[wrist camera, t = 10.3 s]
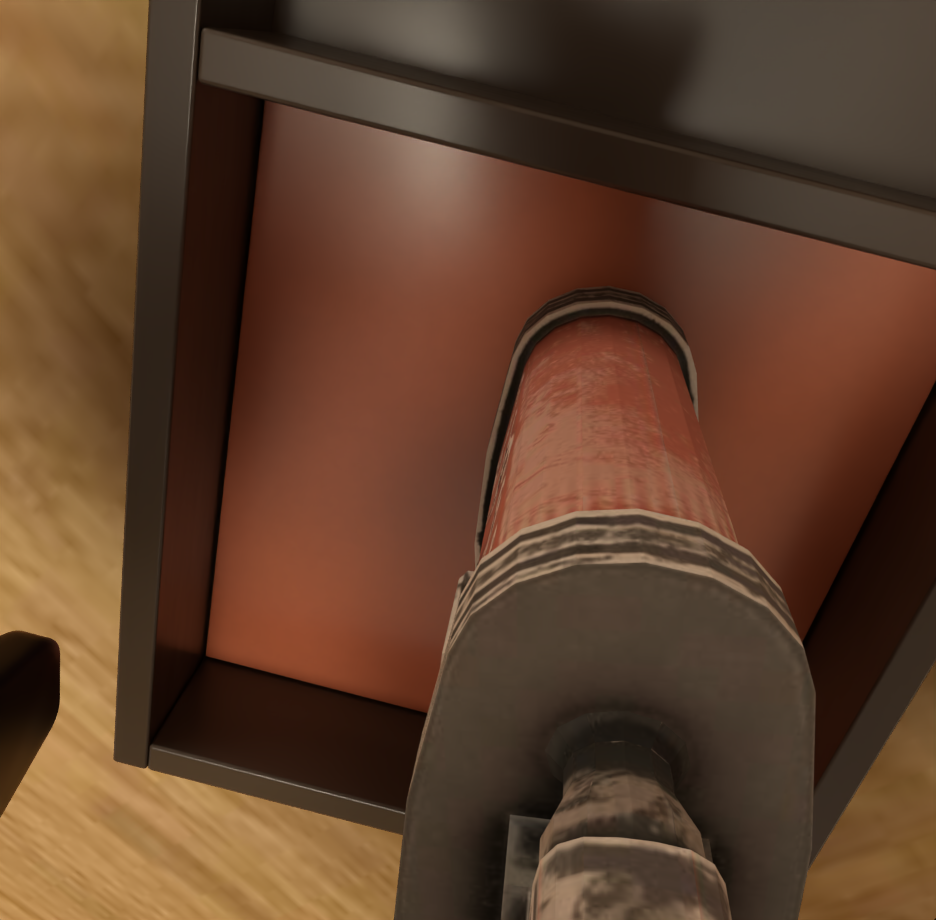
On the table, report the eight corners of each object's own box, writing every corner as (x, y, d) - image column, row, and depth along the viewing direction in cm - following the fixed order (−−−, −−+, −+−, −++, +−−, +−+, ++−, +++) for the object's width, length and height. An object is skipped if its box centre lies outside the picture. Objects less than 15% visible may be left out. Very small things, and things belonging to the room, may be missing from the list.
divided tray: (1743, -1109, 7) (2440, -1802, 4) (742, 798, 17) (772, 933, 14) (372, -1436, 7) (253, -2312, 4) (183, 654, 17) (112, 762, 14)
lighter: (492, 278, 12) (272, 858, 3) (727, 293, 12) (1150, 971, 3) (470, 702, 16) (332, 1535, 7) (652, 723, 16) (752, 1621, 7)
